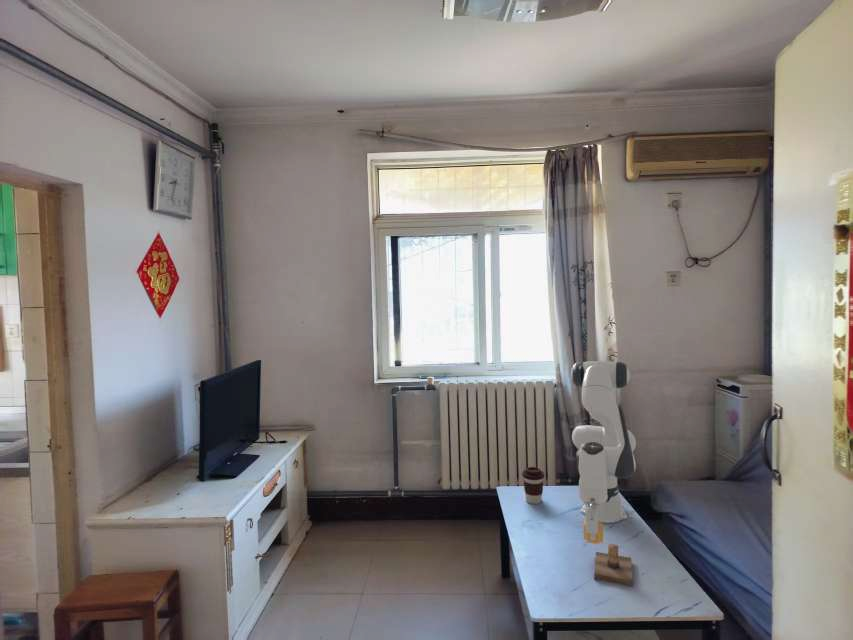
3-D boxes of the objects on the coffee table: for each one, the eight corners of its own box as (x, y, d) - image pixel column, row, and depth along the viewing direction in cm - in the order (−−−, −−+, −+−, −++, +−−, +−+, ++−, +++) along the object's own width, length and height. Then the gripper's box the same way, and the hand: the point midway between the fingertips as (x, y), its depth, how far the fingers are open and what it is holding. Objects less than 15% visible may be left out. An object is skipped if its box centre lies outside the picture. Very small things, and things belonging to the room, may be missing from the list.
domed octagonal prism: (584, 532, 162) (584, 518, 162) (603, 535, 160) (603, 520, 160) (583, 541, 157) (582, 527, 156) (603, 544, 154) (603, 530, 154)
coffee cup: (540, 507, 216) (539, 475, 215) (519, 502, 221) (519, 471, 220) (547, 498, 224) (547, 467, 223) (527, 494, 230) (526, 464, 228)
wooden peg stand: (595, 557, 176) (595, 533, 175) (631, 562, 172) (631, 538, 171) (594, 579, 163) (594, 554, 162) (632, 586, 159) (632, 560, 158)
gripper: (602, 508, 146) (602, 551, 147) (603, 481, 165) (604, 519, 166) (580, 505, 149) (581, 548, 150) (584, 479, 168) (585, 516, 169)
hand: (593, 532), depth 158 cm, fingers closed on domed octagonal prism, 6 cm apart
